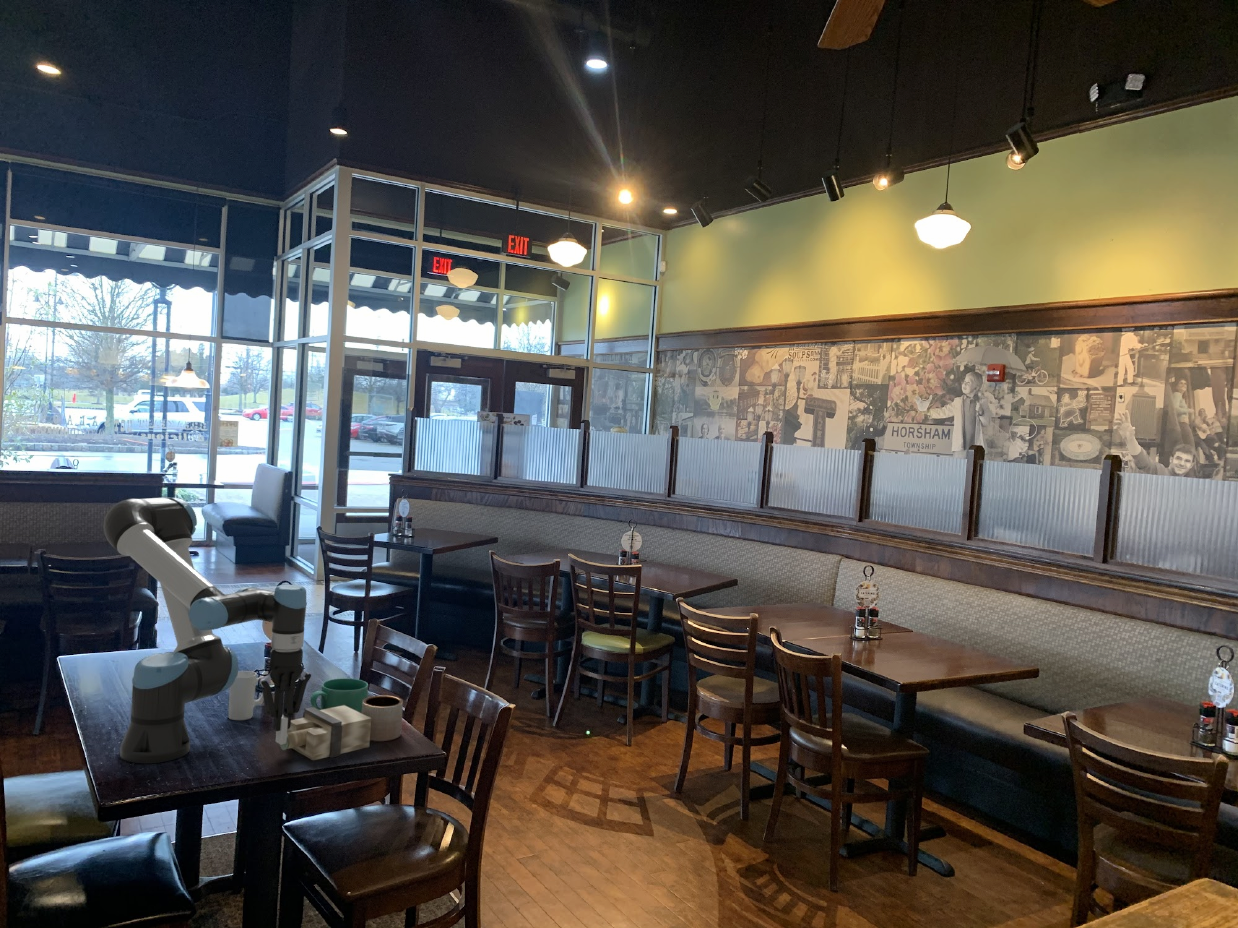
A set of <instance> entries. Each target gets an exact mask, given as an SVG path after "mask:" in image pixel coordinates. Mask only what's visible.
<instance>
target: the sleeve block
mask: <svg viewBox="0 0 1238 928" xmlns="http://www.w3.org/2000/svg"><path fill="white" fill-rule="evenodd" d="M318 726H322V727H323V728H318V729H313V730H309V731H307V737H306V745H302V746H298V747H293V748H291V749H293V750H295V751H296V752H298V754H301V755H303V756H305V757H306V758H308V759H309V760H311V761H317V760H321V759H325V758H329V757H330V758H332V759H333V758H336V757H341V755H342V754H346V753H350V752H354V751H357V750H362V749H365V748H369V747H370V742H371V741H370V729H371V718H370V717H368V716H366V715H364V714H362V713H359V712H357V711H355V710H353V709H351V708H349V707H347V706H345V705H343V706H338V707H333V708H328V709H323V710H318V709H316V708H314V707H313V706H312V707H311V706H310V707H307V708H304V710H303V712H302V717H301V718H296V719H291V726H290V729H287V733H289V732H294V731H299V730H304V729H308V728H313V727H318Z"/></svg>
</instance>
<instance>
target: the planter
mask: <svg viewBox="0 0 1238 928" xmlns="http://www.w3.org/2000/svg"><path fill="white" fill-rule="evenodd" d="M403 704H404V700H403V699H402V698H400V697H398V696H395V695H394V696H393V695H386V694H380V695H379V694H378V695H372V696H369V697H368V696H367V698H365V699H364V700H363V702H362V714H364V715H366V716H368V717H370V718H371V729H370V742H373V741H374V742H377V743H382V742H383V743H384V741H386V742H390V741H394V740H396V739H397V738H399V737H401V734H402V725H403V709H404V707H403V706H404V705H403Z"/></svg>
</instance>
